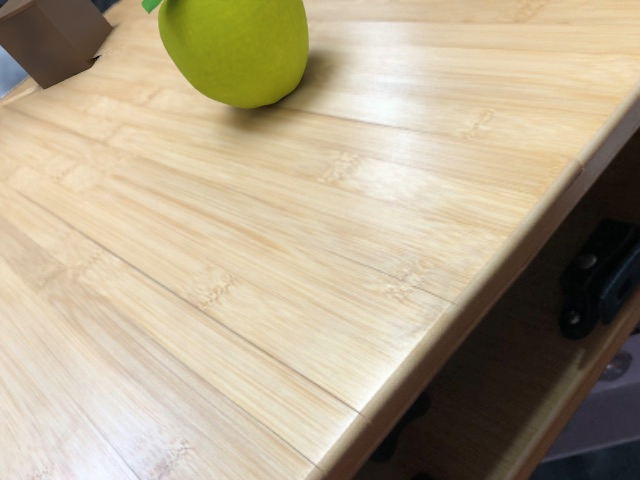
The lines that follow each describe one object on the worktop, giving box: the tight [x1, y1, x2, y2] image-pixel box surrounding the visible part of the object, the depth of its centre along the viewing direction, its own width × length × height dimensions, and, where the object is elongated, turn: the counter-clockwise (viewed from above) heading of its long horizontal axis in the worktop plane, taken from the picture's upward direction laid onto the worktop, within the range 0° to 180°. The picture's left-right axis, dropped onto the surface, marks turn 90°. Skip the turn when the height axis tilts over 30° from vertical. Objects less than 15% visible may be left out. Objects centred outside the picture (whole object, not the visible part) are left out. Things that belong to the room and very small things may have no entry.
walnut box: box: [0, 0, 114, 90], centre depth 70 cm, size 8×8×8 cm
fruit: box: [141, 0, 310, 109], centre depth 41 cm, size 9×9×10 cm
